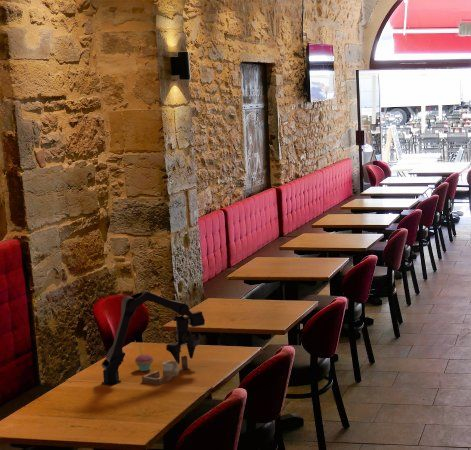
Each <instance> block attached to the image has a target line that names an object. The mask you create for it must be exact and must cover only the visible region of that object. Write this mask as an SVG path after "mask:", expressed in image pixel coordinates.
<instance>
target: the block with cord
mask: <svg viewBox="0 0 471 450" xmlns="http://www.w3.org/2000/svg"><path fill="white" fill-rule="evenodd" d="M180 362H181V363H180V364H181V368H180V369H179V364H178V362H176V360H169V359H168V360H167V361H164V362H162V364H161V365H162V367H161V368H162V376H165V375H167V374H170V373H172V374H173V377H176V376H178V375H179V372H180V371H186V370H189V366H188V365H189V364H188V356H187V355H182V356H181V357H180Z"/></svg>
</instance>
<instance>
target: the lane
mask: <svg viewBox="0 0 471 450" xmlns="http://www.w3.org/2000/svg"><path fill="white" fill-rule="evenodd" d="M173 377H174V376H173V374H172V373H170V374H167V375H165V376H163V375H162V376H160V371H159V370H156V371H152V372H151V373H148V374H146V375H143V376H141V382H142V383H144V384H149V385H153V386H159V385H162V384H163V383H167V382H169V381H171V380H173V379H174V378H173Z"/></svg>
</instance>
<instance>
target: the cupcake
mask: <svg viewBox="0 0 471 450" xmlns="http://www.w3.org/2000/svg"><path fill="white" fill-rule="evenodd" d="M139 351H140V355H138V356H137V357H135V359H134V361H135V364H136V365H137V367H138V369H139V371H141V372H147V371H149V370H150V369H151V365H152V363H153V362H154V358H153V356H151V355H150V354H143V349H142V346H141V345H139Z"/></svg>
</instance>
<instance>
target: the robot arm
mask: <svg viewBox="0 0 471 450" xmlns="http://www.w3.org/2000/svg"><path fill="white" fill-rule="evenodd" d="M146 302H152V303H153V304H157V305H158V306H159V305H160V306H162V307H165V308H167V309H169V310H171V311H172V312H174V313H175V314H174V315H173V317H171V318H170V319H171V321H174V322H175V326H176V330H175V331H174V334H175V335H176V339H175V342H170V343H167V344H166V345H165V348H166V349H165V351H168V352H170V354H171V355H172V357H173V359H174V361H176V362H178V365H179V364H181V363H180V362H181V357H180V355H181V354H180V353H181V352H182V350H181V349H182V347H183V346H186V348H187V351H188V352H187V353H188V357H189V359H193V357H194V353H195V351H196V347H198V346H199V344H200V343H202V334H201V333H199V332H197V333H196V334H192V331H191V329H190V327H191V328H195V327H203V326H205V325H206V324H205V321H206V320H205V316H204V315H203V311H199V310H198V311H196V312H195V311H194V312H192V311H190V308H189V305H188V304H186V303H185V302H183V301H180V300H173V299H168V298H166V297H163V296H161V295H158V294H156V293H152V292H150V291H149V290H145V289H144V290H142V291H141V292H137V293H135V294H131V295H126V296H124V297H122V299H121V304H120V305H121V306H120V313H121V315H120V318H119V322H118V326H117V329H116V333H115V336H114V340H113V344H112V346H111V347H110V348H109V349H108V351H107V354H106V357H105V359H104V360H103V362H102V363H101V367H102V369H103V371H102V376H103V381H102V382H101V384H104V385H107V386H114V385H116V384H118V383H121V382H122V380H121V379H120V376H119V373H120V372H119V368H120V366H121V365H122V363H124V358H125V356H126V353H125V352H124V351H123V347H124V343H125V339H126V337H127V334H128V330H129V329H128V328H129V326H130V322H131V320H132V317H133V316H134V314H135V313H136V311H137V309H138V307H139V306H142V305H144V303H146ZM176 314H177V315H179V316H177V315H176ZM189 326H190V327H189Z"/></svg>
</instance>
